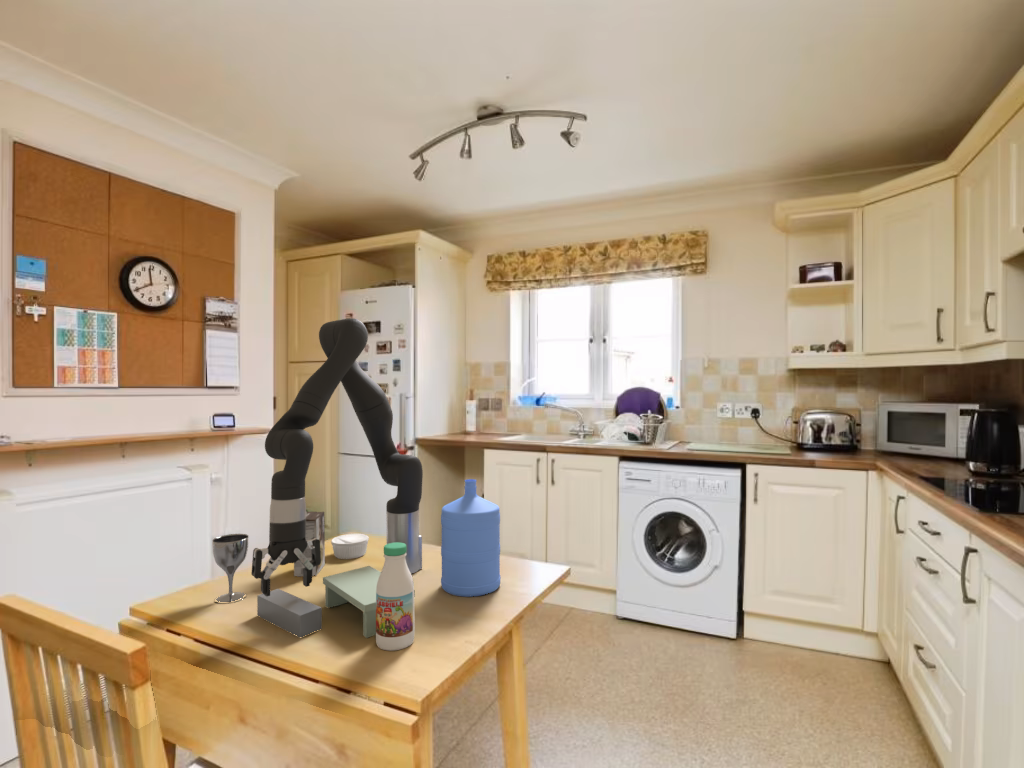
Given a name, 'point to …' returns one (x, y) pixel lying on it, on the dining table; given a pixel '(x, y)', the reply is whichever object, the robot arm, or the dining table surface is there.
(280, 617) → the grey rectangular brick
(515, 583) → the dining table surface
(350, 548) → the ramekin
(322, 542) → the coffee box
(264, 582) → the robot arm
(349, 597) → the sage shelf
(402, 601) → the milk bottle
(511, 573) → the dining table surface
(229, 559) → the wine glass
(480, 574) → the water jug
